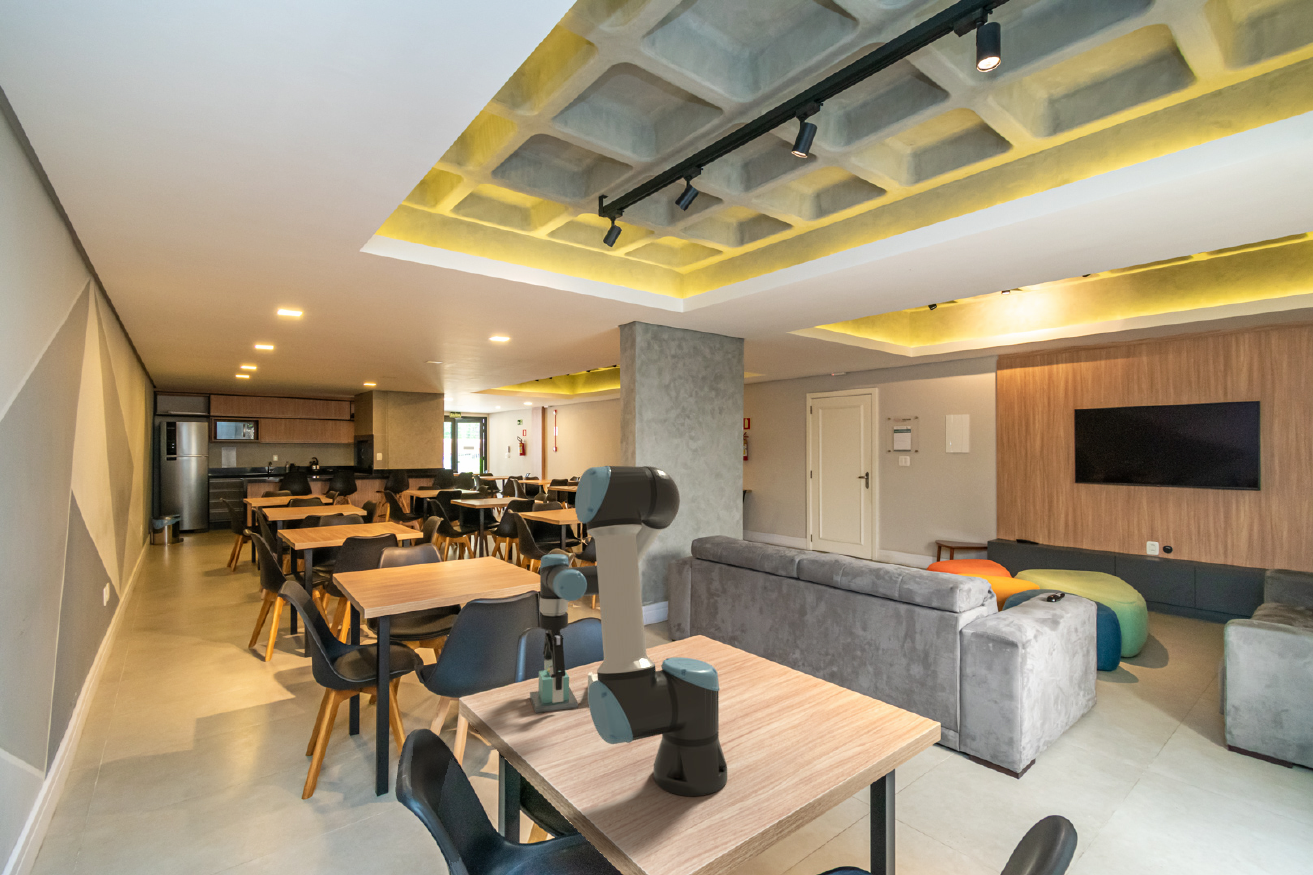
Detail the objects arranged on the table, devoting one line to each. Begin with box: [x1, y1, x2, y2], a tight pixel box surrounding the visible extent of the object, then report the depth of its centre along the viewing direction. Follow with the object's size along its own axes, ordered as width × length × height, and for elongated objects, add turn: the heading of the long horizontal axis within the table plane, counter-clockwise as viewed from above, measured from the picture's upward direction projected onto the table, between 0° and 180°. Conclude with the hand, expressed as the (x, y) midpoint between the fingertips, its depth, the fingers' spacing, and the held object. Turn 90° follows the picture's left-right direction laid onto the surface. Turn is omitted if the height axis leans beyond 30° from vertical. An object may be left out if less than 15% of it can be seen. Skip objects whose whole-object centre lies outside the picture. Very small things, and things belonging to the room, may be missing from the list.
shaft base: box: [529, 666, 579, 714], centre depth 163 cm, size 11×11×10 cm
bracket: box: [587, 671, 598, 704], centre depth 170 cm, size 13×7×8 cm, turn 179°
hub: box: [538, 669, 570, 703], centre depth 163 cm, size 7×7×7 cm
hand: (553, 692), depth 163 cm, fingers open, 13 cm apart
